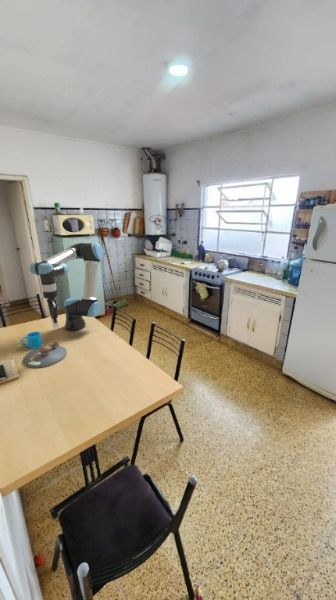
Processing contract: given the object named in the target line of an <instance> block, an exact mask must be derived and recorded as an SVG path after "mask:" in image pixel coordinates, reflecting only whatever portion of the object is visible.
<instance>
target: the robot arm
mask: <svg viewBox="0 0 336 600" xmlns="http://www.w3.org/2000/svg"><path fill="white" fill-rule="evenodd" d="M103 249H104V248H103V246H102V245H101V244H100V243H96V242H93V243H92V242H79V243H75V244H72V245H70V246H68V247H66V248H65V249H64V250H62V251H60V252H58V253H57V254H54V255H52V256H50V257H48V258H47V259H44V260H41V261H40V262H32V263H30V265H29V271H30V274H32V275H35V276H39V280H40V288H41V289H42V295H43V298H44V299H46V302H47V307H48V311H49V315H50V319H51V323H52V328H53V329H56V328H59V322H58V318H59V316H58V315H59V314H58V304H57V300H56V299H55V298H57V297H58V290H57V289H58V288H57V283H56V279H57V278H60V277H63V276H64V275H66V274H68V272H69V266H68V265H67V264H66V263H68V262H70V261H75V260H79V259H81V260H83V262H84V264H85V267H84V268H85V269H84V270H85V271H84V282H83V284H84V286H83V287H84V288H83V296H82V297H81V298H80V297H78V296H74V297H69V298H67V299H65V300H64V301H63V306H64V308H63V309H64V315H65V324H64V329H65V330H66V331H67V332H69V331H70V332H75V331H80V330H83V329H84V328H85V327H86V321H85V319H84V317H88V318H96V317H97V316H98V315H99V313H100V312H101V303H100V302H99V300H98V298H97V281H98V265H99V264H100V263H101V260H103V259H104V254H105V253H104V250H103Z"/></svg>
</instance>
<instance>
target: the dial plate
mask: <svg viewBox="0 0 336 600" xmlns="http://www.w3.org/2000/svg"><path fill="white" fill-rule="evenodd" d="M39 348H40V347H38V348H33V350H31V351H29V352H28V353H27V354H26V355H24V357H23V360H22V361H23V364H24V365H25V366H26V367H28V368H33V369H39V368H40V369H41V368H47V367H50V366H54V365H56V364H57V363H60V362H61V361H63V360H64V359H65V358H66V356H67V352H68V351H67V348H66V347H64V346H63V345H59V346H58V347H57V348H52V347H50V351H48V352H46V353H41V354H39V355H38V356H36V357H35V358H33V359H32V360H30V359H31V358H32V357H34V356H35V355H37V354H38V353H40V352H39Z"/></svg>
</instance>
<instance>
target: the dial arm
mask: <svg viewBox="0 0 336 600" xmlns="http://www.w3.org/2000/svg"><path fill="white" fill-rule="evenodd" d="M58 346H60V345H59V340H56V339H53V340H52V341H51V342H50V343H48V344H47V345H44V346H42V345H41V346H40V347H38V348H39V352H40V353H38V354H37V355H35V356H34V357H32V358H31V359H30V360H32V359H33V358H35V357H36V356H38V355H39V354H41V353H46V352H48V351H50V347H52V348H57V347H58Z"/></svg>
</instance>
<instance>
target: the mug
mask: <svg viewBox="0 0 336 600" xmlns="http://www.w3.org/2000/svg"><path fill="white" fill-rule="evenodd" d="M25 339H26V340H27V344H26V343H24V340H25ZM42 339H43V338H42V334H41V332H40V331H31V332H29V333H27V334H26V336H24V337H23V338H22V339H21V340H20V343H21V345H23V346H24V347H28V348H29V349H37V348H40V347H42V345H43V340H42Z"/></svg>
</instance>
